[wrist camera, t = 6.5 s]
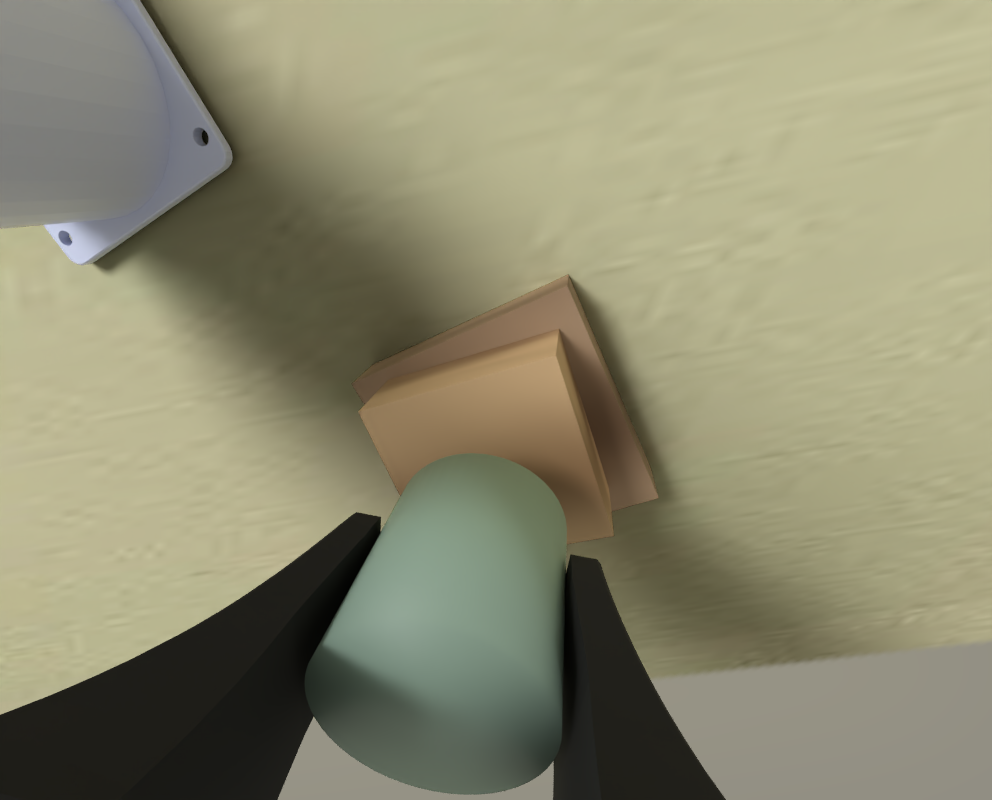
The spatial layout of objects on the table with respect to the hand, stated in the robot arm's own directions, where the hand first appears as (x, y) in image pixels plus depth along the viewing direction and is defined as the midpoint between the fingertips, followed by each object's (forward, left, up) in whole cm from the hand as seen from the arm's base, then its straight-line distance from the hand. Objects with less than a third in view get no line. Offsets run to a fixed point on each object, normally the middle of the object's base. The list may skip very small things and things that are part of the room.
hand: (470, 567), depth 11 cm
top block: (0, 0, -6) cm, 6 cm away
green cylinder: (0, 0, -1) cm, 1 cm away
